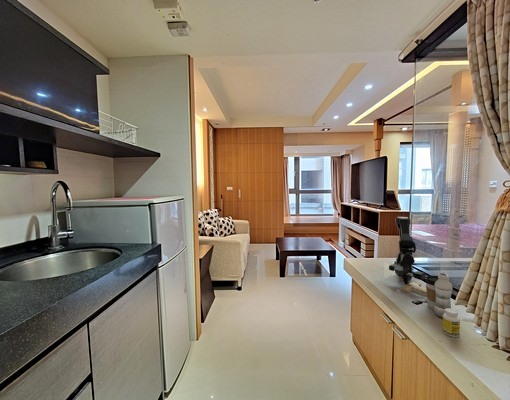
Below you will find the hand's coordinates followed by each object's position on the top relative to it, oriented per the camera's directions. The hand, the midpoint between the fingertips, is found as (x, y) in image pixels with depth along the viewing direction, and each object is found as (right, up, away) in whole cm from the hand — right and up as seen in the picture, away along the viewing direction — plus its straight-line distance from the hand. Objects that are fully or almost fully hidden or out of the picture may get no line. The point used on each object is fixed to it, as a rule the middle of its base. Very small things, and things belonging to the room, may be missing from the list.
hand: (406, 285), depth 138 cm
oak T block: (+3, -1, -6) cm, 7 cm away
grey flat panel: (0, -1, 0) cm, 1 cm away
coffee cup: (0, -3, -22) cm, 22 cm away
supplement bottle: (-9, -5, -42) cm, 44 cm away
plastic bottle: (-3, -3, -30) cm, 31 cm away
